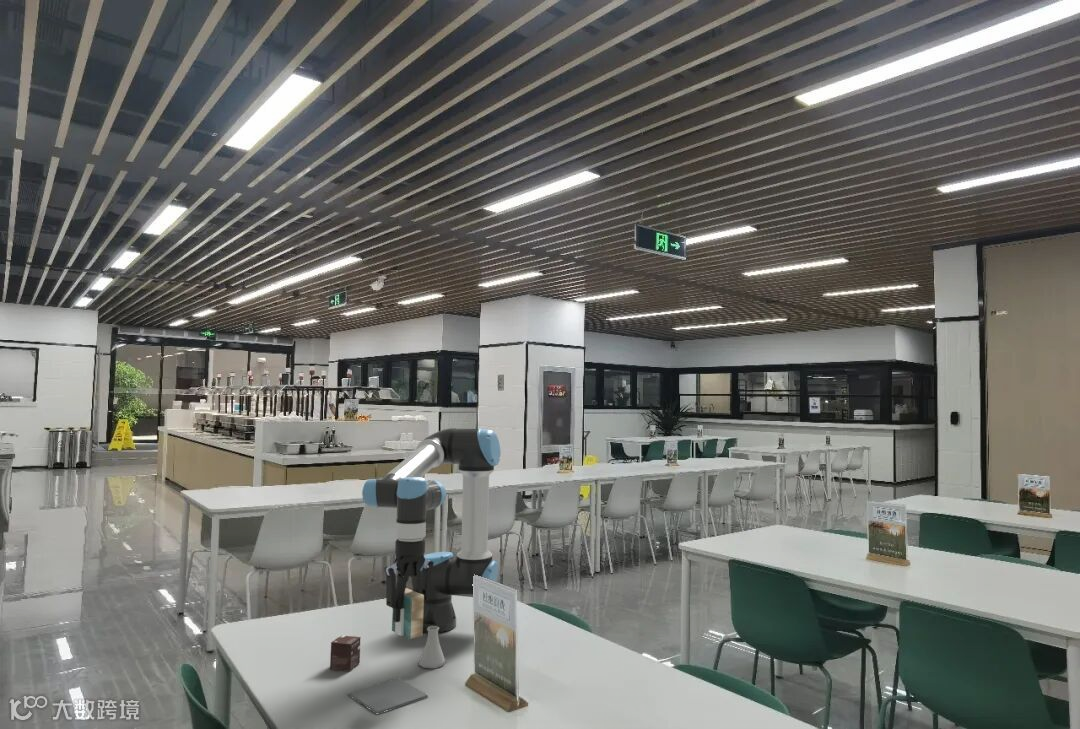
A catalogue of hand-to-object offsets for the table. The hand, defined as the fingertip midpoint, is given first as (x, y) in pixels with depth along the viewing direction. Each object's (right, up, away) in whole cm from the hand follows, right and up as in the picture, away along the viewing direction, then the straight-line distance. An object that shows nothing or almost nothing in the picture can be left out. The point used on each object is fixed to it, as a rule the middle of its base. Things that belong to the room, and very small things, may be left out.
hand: (407, 631), depth 168 cm
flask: (+4, -16, +16) cm, 23 cm away
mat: (-4, -14, -4) cm, 15 cm away
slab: (0, 0, 0) cm, 0 cm away
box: (-20, -15, +13) cm, 28 cm away
